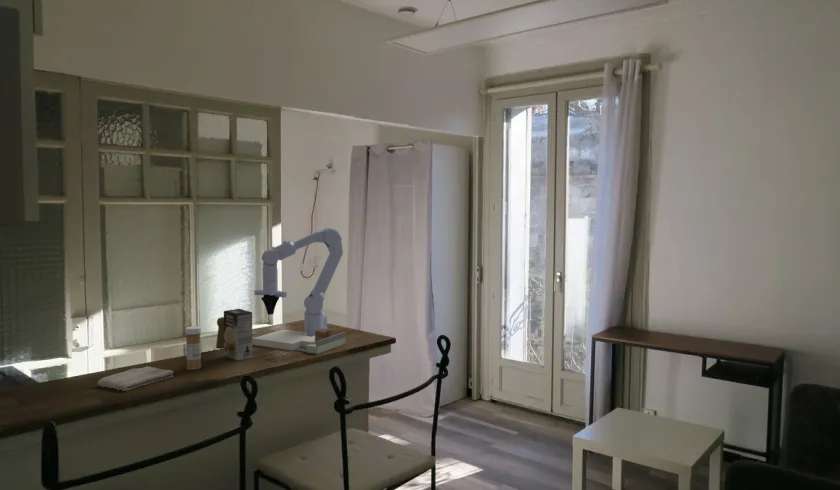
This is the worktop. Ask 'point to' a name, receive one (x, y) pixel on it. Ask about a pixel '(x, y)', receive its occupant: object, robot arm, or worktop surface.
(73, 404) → the worktop surface
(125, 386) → the washcloth
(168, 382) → the worktop surface
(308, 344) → the trap deck
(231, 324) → the coffee box
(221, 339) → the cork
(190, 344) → the sprinkles bottle
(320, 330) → the walnut block
